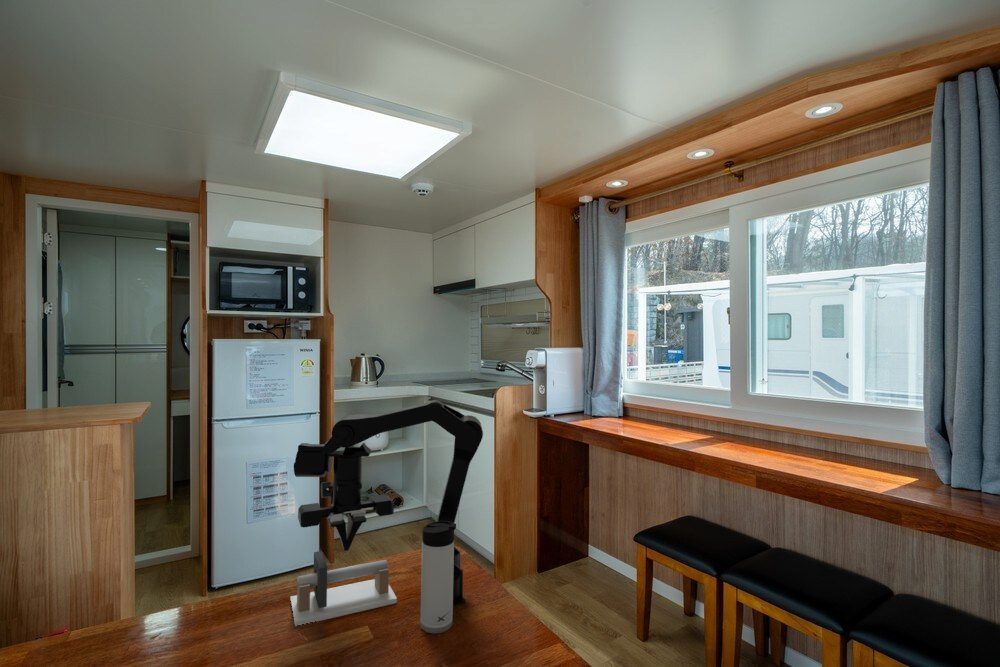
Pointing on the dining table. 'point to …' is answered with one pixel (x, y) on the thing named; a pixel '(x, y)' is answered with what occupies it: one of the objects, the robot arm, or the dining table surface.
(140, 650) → the dining table surface
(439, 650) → the dining table surface
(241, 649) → the dining table surface
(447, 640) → the dining table surface
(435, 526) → the travel mug
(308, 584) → the pipe stand
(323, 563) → the dark grey flat block
